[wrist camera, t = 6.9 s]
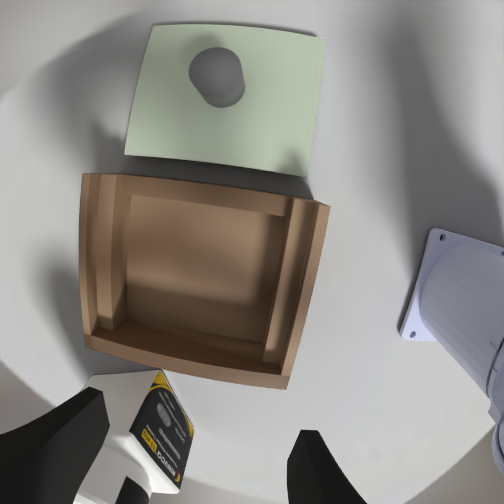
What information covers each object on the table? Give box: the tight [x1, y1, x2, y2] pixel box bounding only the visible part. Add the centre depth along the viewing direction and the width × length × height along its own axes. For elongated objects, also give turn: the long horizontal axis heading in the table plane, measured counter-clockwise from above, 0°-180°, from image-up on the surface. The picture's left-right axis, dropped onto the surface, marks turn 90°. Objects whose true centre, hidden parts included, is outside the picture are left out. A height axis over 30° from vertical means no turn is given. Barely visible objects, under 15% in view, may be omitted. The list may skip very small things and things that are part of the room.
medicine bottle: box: [73, 370, 194, 504], centre depth 15 cm, size 7×7×12 cm
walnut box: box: [79, 173, 331, 390], centre depth 16 cm, size 10×12×4 cm
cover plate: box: [124, 24, 326, 178], centre depth 13 cm, size 9×10×4 cm
